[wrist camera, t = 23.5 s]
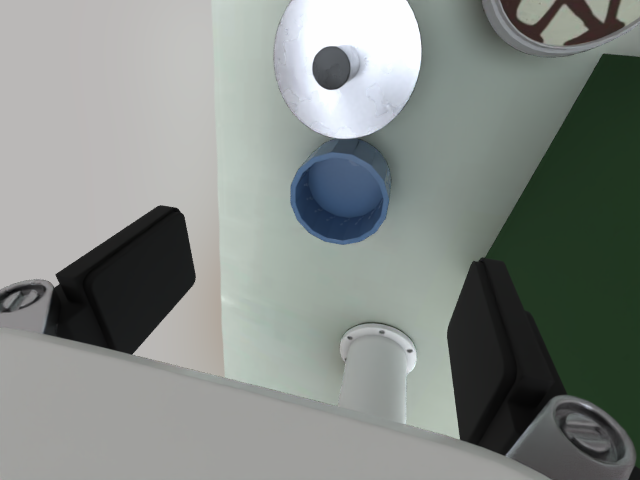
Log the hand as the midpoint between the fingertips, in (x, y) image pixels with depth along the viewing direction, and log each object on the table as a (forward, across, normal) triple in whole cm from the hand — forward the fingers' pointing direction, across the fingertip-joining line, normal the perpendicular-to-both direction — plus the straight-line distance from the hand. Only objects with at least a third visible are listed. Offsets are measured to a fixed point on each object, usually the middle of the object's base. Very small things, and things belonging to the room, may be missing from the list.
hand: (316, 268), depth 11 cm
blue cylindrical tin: (+30, +3, +9) cm, 32 cm away
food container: (+31, -11, -9) cm, 34 cm away
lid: (+21, +3, -4) cm, 22 cm away
